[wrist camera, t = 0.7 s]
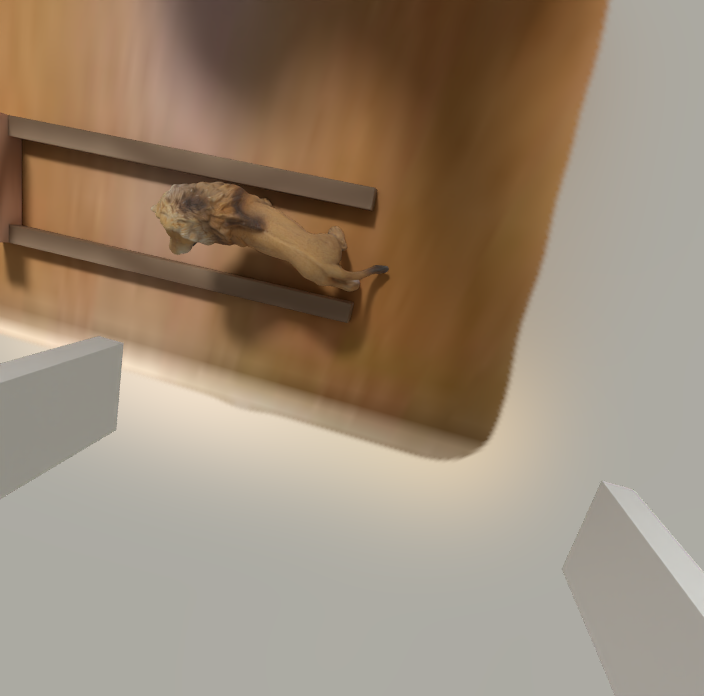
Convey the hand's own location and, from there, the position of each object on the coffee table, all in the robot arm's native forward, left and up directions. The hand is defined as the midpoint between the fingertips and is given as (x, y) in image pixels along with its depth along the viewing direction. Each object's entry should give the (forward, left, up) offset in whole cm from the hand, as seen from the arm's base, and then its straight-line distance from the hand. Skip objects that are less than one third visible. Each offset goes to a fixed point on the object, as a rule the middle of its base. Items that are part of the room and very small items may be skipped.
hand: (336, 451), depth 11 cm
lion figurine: (-4, -9, -23) cm, 25 cm away
